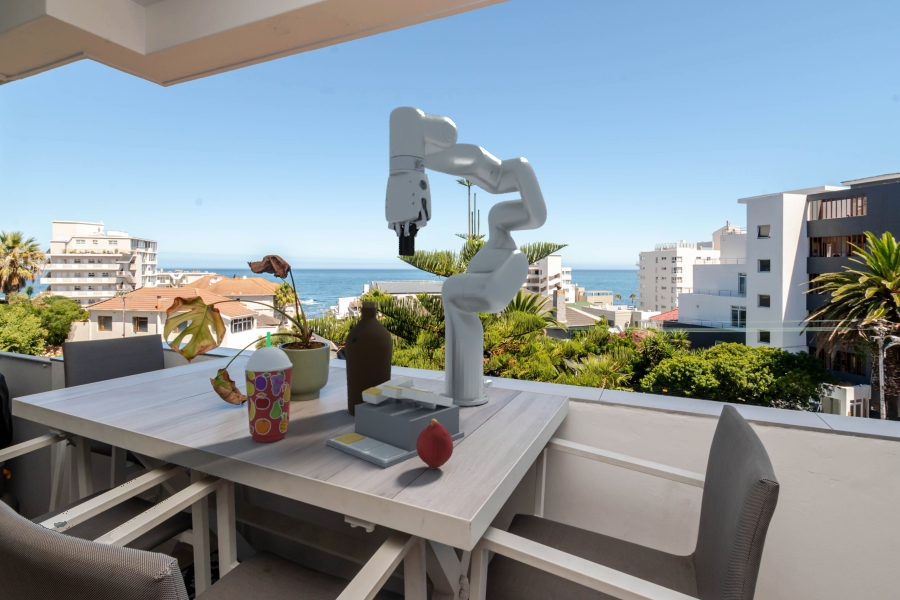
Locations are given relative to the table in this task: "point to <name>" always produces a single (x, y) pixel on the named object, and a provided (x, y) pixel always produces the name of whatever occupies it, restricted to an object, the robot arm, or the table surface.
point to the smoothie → (268, 393)
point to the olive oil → (367, 355)
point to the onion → (434, 445)
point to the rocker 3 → (426, 398)
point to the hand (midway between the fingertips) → (406, 255)
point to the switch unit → (393, 430)
